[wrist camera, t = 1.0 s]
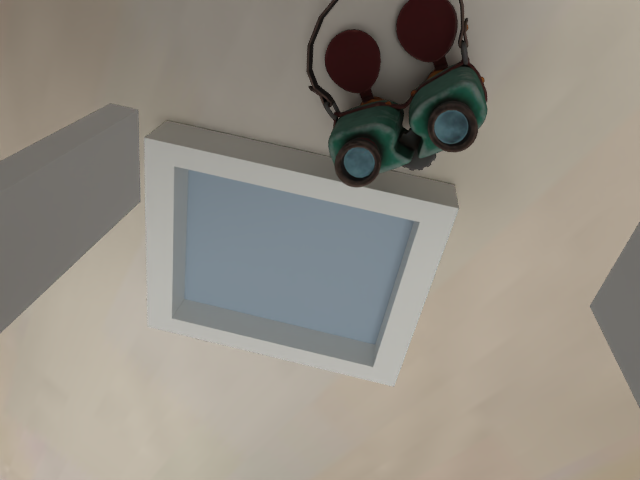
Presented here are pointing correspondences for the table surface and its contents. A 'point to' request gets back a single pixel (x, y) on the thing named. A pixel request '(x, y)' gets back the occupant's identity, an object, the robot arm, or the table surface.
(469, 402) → the table surface
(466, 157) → the table surface
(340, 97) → the table surface
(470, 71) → the binoculars
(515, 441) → the table surface
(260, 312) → the case
